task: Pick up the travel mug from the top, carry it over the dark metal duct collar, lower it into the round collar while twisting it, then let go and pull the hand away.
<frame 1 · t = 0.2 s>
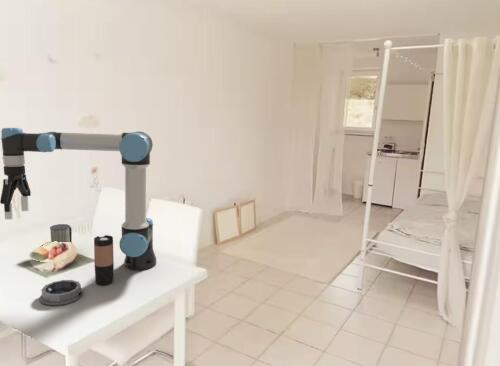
hand: (17, 214, 159), 28 cm above the table, tool pointing down, fingers open, 13 cm apart
duct collar: (61, 296, 148), on the table
travel mug: (104, 282, 163), on the table
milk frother: (54, 253, 192), on the table
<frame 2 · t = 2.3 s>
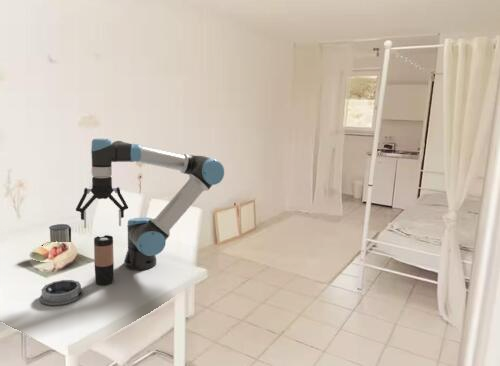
hand: (102, 226, 158), 25 cm above the table, tool pointing down, fingers open, 13 cm apart
nothing on the table moved.
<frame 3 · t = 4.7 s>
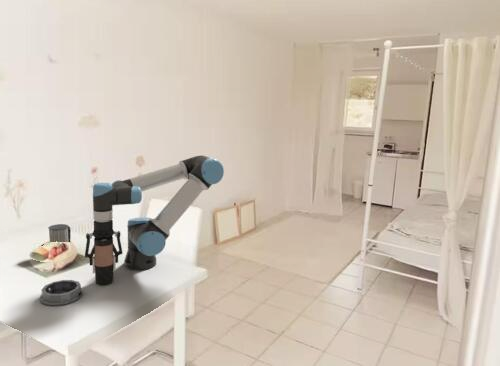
hand: (104, 270, 162), 5 cm above the table, tool pointing down, fingers closed on travel mug, 8 cm apart
travel mug: (104, 282, 163), on the table, touching gripper
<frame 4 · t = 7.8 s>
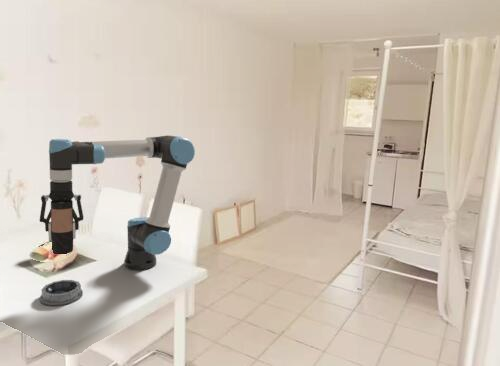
hand: (62, 238, 145), 24 cm above the table, tool pointing down, fingers closed on travel mug, 8 cm apart
travel mug: (62, 251, 146), point 18 cm above the table, touching gripper
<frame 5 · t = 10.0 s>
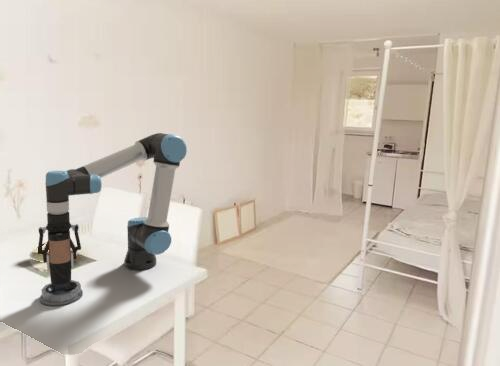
hand: (60, 268, 146), 12 cm above the table, tool pointing down, fingers closed on travel mug, 8 cm apart
travel mug: (61, 281, 147), point 6 cm above the table, touching gripper
when the fingers open (8 cm above the table, at t = 11.2 s): travel mug drops 1 cm, resting on duct collar.
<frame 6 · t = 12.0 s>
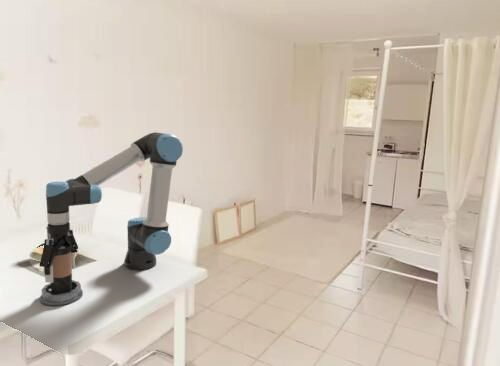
hand: (60, 274, 147), 9 cm above the table, tool pointing down, fingers open, 13 cm apart
travel mug: (62, 294, 148), point 1 cm above the table, touching duct collar
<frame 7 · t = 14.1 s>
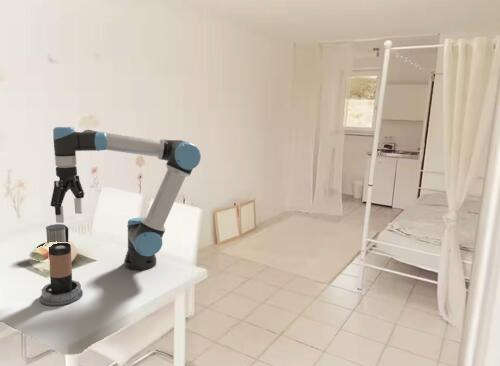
hand: (69, 217, 153), 30 cm above the table, tool pointing down, fingers open, 13 cm apart
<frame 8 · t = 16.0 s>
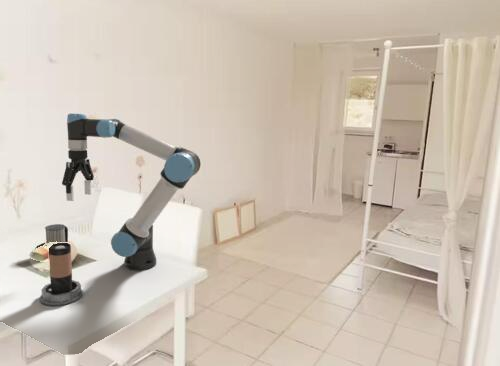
hand: (79, 197, 167), 35 cm above the table, tool pointing down, fingers open, 13 cm apart
at the end: travel mug 0.1 cm off-centre on the duct collar, point 0.8 cm above the duct collar's base; travel mug tilted 0°; the gripper is holding nothing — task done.
